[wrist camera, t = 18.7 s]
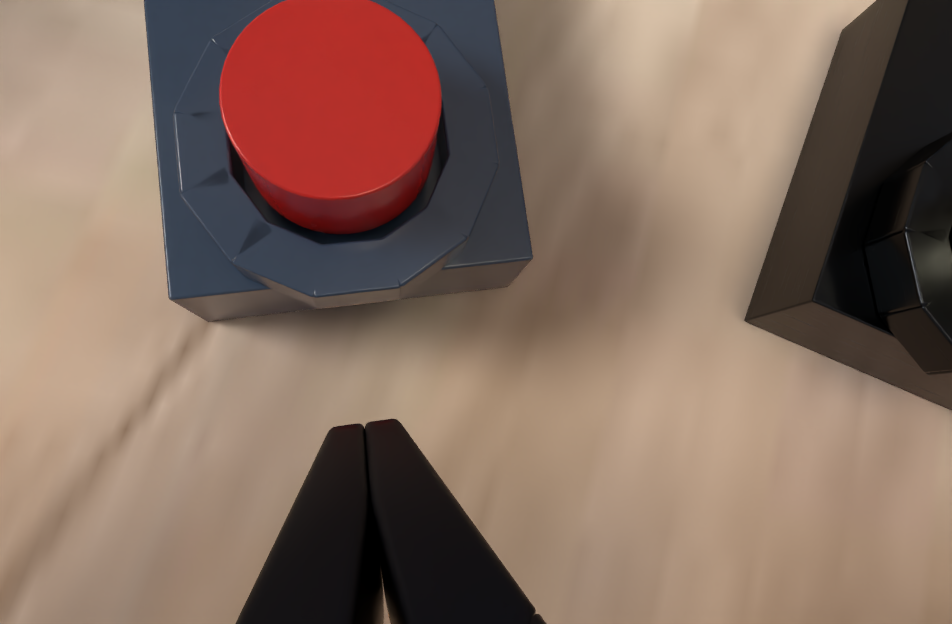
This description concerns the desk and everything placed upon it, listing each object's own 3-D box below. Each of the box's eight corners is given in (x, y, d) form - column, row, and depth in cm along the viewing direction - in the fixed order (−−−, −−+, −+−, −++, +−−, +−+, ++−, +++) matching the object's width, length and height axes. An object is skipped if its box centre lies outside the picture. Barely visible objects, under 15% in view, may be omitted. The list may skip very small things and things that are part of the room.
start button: (445, 224, 18) (455, 188, 15) (253, 244, 17) (229, 210, 14) (421, 50, 18) (427, -15, 15) (235, 63, 18) (208, -3, 15)
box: (512, 307, 23) (552, 270, 17) (208, 344, 22) (147, 316, 16) (461, -43, 24) (483, -178, 19) (175, -27, 23) (109, -168, 18)
